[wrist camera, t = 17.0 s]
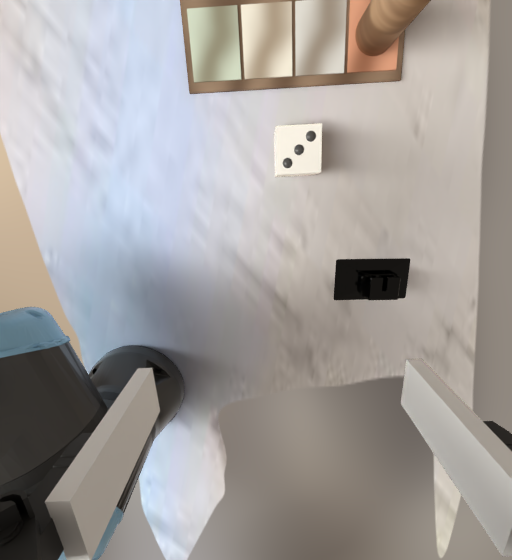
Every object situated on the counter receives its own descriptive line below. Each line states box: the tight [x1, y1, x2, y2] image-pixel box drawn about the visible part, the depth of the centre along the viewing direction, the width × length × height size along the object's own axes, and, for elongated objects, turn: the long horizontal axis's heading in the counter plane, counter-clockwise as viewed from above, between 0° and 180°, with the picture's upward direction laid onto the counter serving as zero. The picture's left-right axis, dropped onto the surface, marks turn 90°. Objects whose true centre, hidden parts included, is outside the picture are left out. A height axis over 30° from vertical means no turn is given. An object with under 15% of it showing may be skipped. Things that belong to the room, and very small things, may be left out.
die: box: [274, 123, 322, 177], centre depth 34 cm, size 5×5×5 cm
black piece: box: [334, 259, 410, 300], centre depth 39 cm, size 13×8×5 cm, turn 91°
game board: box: [180, 0, 405, 94], centre depth 32 cm, size 25×9×1 cm, turn 93°
